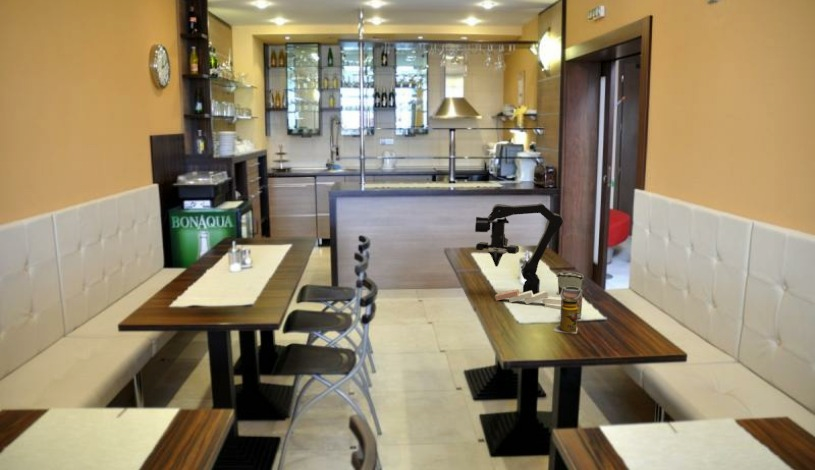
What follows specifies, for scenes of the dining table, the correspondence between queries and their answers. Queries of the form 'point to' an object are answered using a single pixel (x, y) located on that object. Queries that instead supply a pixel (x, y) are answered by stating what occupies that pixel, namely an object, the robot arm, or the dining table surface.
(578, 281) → the food container
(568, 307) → the condiment
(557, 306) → the domino
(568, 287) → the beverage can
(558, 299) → the domino
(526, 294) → the domino
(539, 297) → the domino
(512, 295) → the domino
